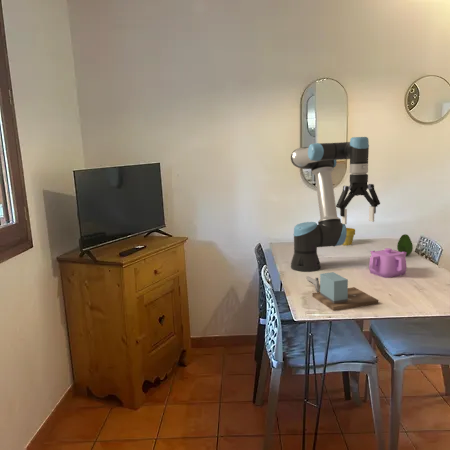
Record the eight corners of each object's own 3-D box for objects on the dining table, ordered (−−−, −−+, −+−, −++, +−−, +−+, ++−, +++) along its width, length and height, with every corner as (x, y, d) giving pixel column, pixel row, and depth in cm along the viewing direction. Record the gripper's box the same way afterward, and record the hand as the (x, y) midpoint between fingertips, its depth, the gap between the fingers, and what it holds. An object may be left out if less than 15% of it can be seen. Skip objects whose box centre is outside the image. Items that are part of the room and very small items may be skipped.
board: (312, 296, 180) (312, 293, 180) (354, 290, 186) (354, 287, 185) (333, 310, 164) (333, 306, 164) (378, 303, 170) (378, 299, 169)
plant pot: (357, 243, 272) (357, 228, 271) (352, 246, 264) (352, 231, 262) (340, 241, 278) (341, 227, 276) (335, 245, 269) (335, 230, 267)
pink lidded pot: (368, 277, 204) (369, 251, 201) (369, 267, 219) (370, 243, 217) (407, 279, 198) (408, 253, 195) (405, 269, 213) (406, 245, 211)
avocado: (405, 253, 244) (406, 232, 242) (415, 256, 237) (416, 234, 235) (393, 254, 242) (394, 233, 240) (403, 257, 234) (404, 236, 232)
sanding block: (320, 294, 178) (320, 273, 176) (333, 292, 179) (333, 272, 178) (333, 303, 167) (334, 281, 166) (347, 301, 169) (347, 279, 167)
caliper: (319, 292, 186) (319, 278, 184) (316, 292, 186) (316, 278, 184) (307, 278, 206) (307, 265, 205) (305, 278, 206) (305, 266, 205)
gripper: (337, 175, 176) (337, 226, 180) (389, 172, 183) (388, 221, 187) (328, 174, 183) (328, 223, 187) (378, 171, 190) (377, 218, 194)
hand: (358, 222), depth 187 cm, fingers open, 13 cm apart
